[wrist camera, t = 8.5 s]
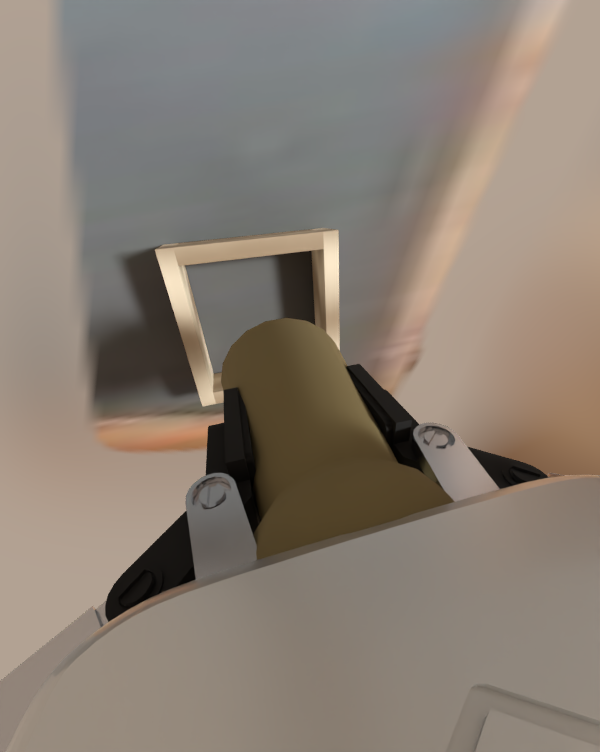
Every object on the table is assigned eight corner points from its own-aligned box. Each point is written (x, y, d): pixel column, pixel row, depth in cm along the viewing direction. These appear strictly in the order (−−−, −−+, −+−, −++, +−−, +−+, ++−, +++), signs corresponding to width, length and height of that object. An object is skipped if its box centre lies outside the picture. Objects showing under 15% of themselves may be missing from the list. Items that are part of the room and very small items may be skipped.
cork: (207, 416, 14) (184, 793, 5) (241, 300, 12) (316, 588, 3) (315, 433, 17) (440, 715, 7) (361, 338, 14) (628, 567, 5)
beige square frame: (163, 244, 19) (154, 249, 16) (323, 228, 21) (338, 230, 18) (204, 386, 25) (202, 406, 22) (328, 363, 26) (339, 379, 24)
